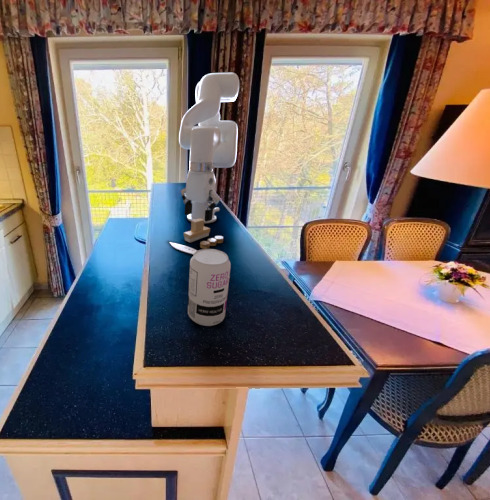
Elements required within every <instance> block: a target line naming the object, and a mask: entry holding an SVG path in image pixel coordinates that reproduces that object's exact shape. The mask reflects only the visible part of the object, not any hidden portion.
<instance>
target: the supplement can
mask: <svg viewBox="0 0 490 500" xmlns="http://www.w3.org/2000/svg"><path fill="white" fill-rule="evenodd" d="M192 255H193V256H192V257H191V258H190V260H189V277H188V294H187V295H188V297H187V298H188V299H187V302H188V303H187V315H188V317H189V318H190V319H191V321H193V322H194V323H196V324H198V325H200V326H205V327H212V326H217V325H218V324H220V323H222V322H223V321H224V319H225V318H226V311H227V310H226V309H227V301H228V293H229V283H230V278H229V276H230V277H231V269H232V268H231V265H232V264H231V261H230V259H229V256H228V254H227V253H226V252H225V251H222V250H220V249H215V248H208V249H203V248H201V249H199V250H198V251H196V252H195V253H194V254H192Z"/></svg>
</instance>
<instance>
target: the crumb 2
mask: <svg viewBox="0 0 490 500" xmlns="http://www.w3.org/2000/svg"><path fill="white" fill-rule="evenodd" d="M213 238H214V239H216V240H217V243H216V244H223V242H224V236H222V235H215V236H214V237H213Z"/></svg>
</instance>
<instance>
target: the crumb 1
mask: <svg viewBox="0 0 490 500" xmlns="http://www.w3.org/2000/svg"><path fill="white" fill-rule="evenodd" d="M199 247H200V248H201V249H210V247H211V246H210V242H208V241H207V240H202V241H200V243H199Z"/></svg>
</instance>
